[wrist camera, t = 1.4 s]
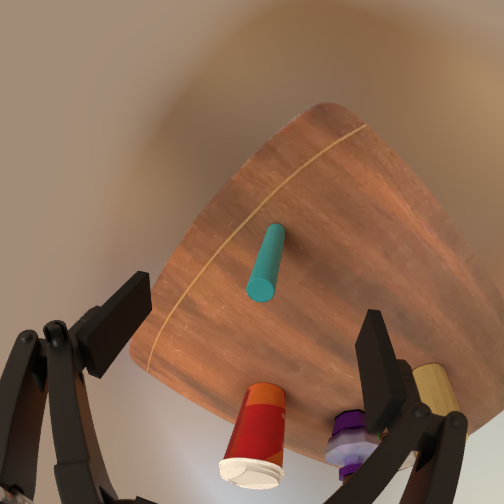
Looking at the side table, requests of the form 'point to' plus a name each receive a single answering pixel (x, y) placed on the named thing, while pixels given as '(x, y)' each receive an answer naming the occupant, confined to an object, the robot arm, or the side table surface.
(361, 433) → the potion bottle
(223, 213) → the side table surface
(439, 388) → the can
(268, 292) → the teal cylinder rod
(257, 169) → the side table surface
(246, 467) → the paper cup
